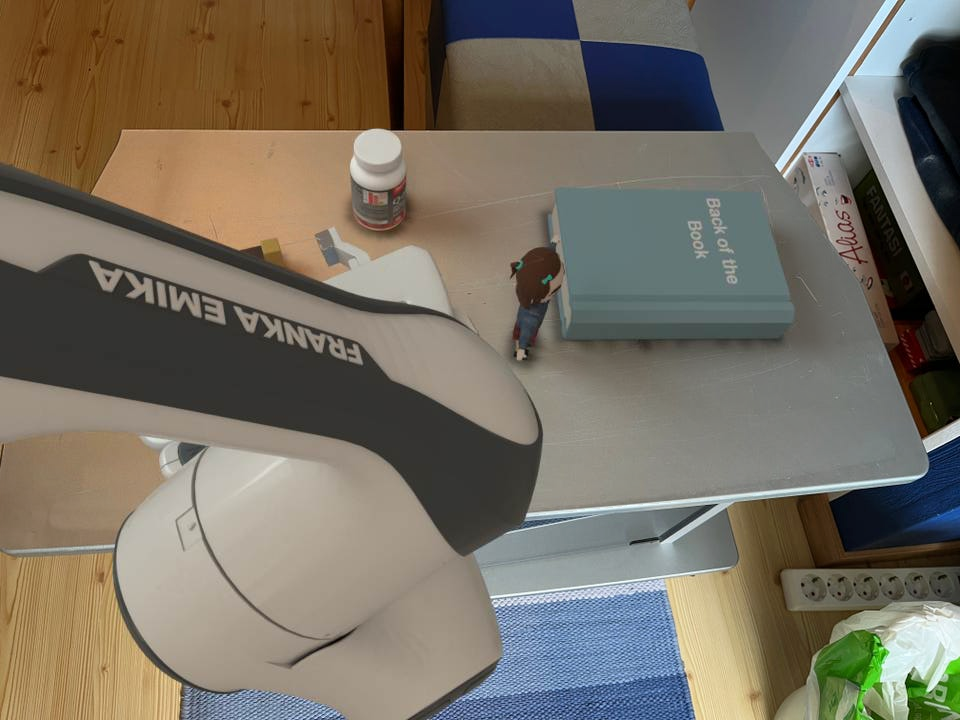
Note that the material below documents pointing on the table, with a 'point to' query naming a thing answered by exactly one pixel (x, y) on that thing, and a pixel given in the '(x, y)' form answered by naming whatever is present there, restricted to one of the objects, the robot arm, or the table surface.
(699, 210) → the book
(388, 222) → the pill bottle
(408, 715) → the robot arm
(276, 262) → the tan lever handle
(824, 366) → the table surface
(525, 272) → the toy
